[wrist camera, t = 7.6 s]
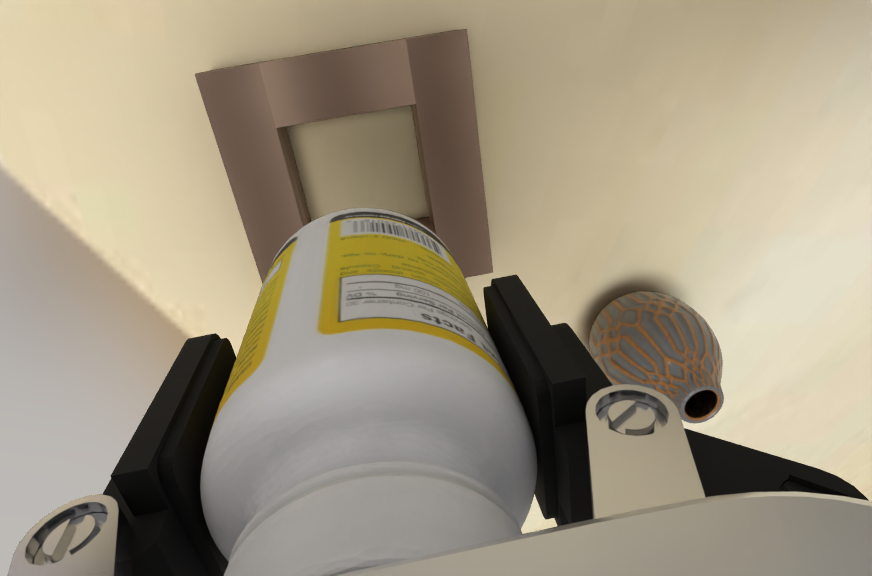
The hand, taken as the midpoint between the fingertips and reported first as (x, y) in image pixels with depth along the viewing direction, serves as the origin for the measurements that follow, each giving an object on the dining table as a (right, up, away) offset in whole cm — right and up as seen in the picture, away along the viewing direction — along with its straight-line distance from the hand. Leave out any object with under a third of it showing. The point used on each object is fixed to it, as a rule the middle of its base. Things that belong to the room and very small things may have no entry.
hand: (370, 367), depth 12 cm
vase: (+14, -1, +24) cm, 28 cm away
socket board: (-3, +8, +17) cm, 19 cm away
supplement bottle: (0, +2, +3) cm, 4 cm away
